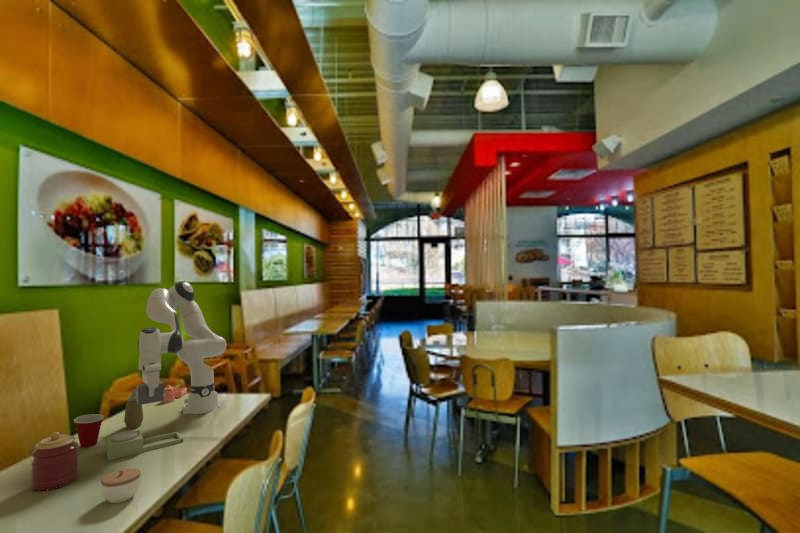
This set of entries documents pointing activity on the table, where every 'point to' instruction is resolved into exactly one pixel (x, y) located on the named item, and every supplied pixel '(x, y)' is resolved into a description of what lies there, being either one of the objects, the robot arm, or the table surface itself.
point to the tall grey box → (144, 394)
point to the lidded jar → (120, 484)
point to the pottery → (173, 393)
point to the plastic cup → (88, 429)
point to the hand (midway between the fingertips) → (150, 394)
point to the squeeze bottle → (133, 412)
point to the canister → (54, 462)
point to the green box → (135, 443)
